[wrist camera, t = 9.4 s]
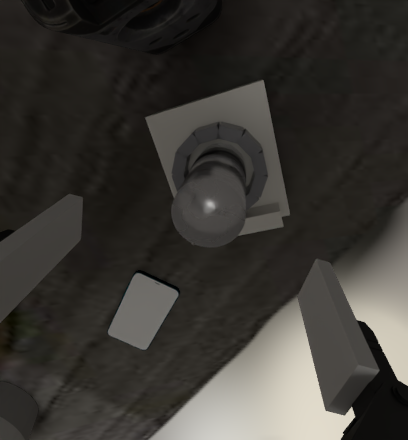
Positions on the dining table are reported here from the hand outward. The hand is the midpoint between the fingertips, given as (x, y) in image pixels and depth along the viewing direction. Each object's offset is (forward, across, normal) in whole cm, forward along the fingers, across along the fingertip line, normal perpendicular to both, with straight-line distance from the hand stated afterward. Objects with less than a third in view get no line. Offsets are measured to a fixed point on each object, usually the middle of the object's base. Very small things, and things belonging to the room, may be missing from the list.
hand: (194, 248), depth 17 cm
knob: (+17, 0, 0) cm, 17 cm away
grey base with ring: (+23, 0, 0) cm, 23 cm away
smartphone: (+23, -6, -29) cm, 38 cm away
